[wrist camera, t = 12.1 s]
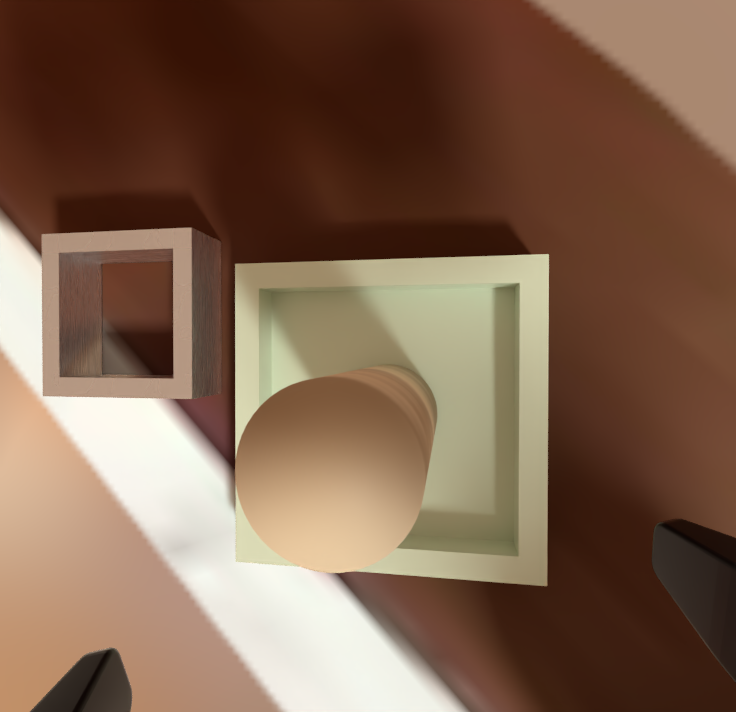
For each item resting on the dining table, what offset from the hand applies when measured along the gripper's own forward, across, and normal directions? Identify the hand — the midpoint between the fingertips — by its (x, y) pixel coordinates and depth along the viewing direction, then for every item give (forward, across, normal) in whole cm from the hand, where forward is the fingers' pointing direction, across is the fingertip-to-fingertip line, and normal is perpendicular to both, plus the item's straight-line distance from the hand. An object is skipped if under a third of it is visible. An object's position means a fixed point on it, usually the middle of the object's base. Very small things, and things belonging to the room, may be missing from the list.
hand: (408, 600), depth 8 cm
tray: (+12, -2, +2) cm, 13 cm away
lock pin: (+12, -2, +2) cm, 12 cm away
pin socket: (+17, +8, -2) cm, 19 cm away
